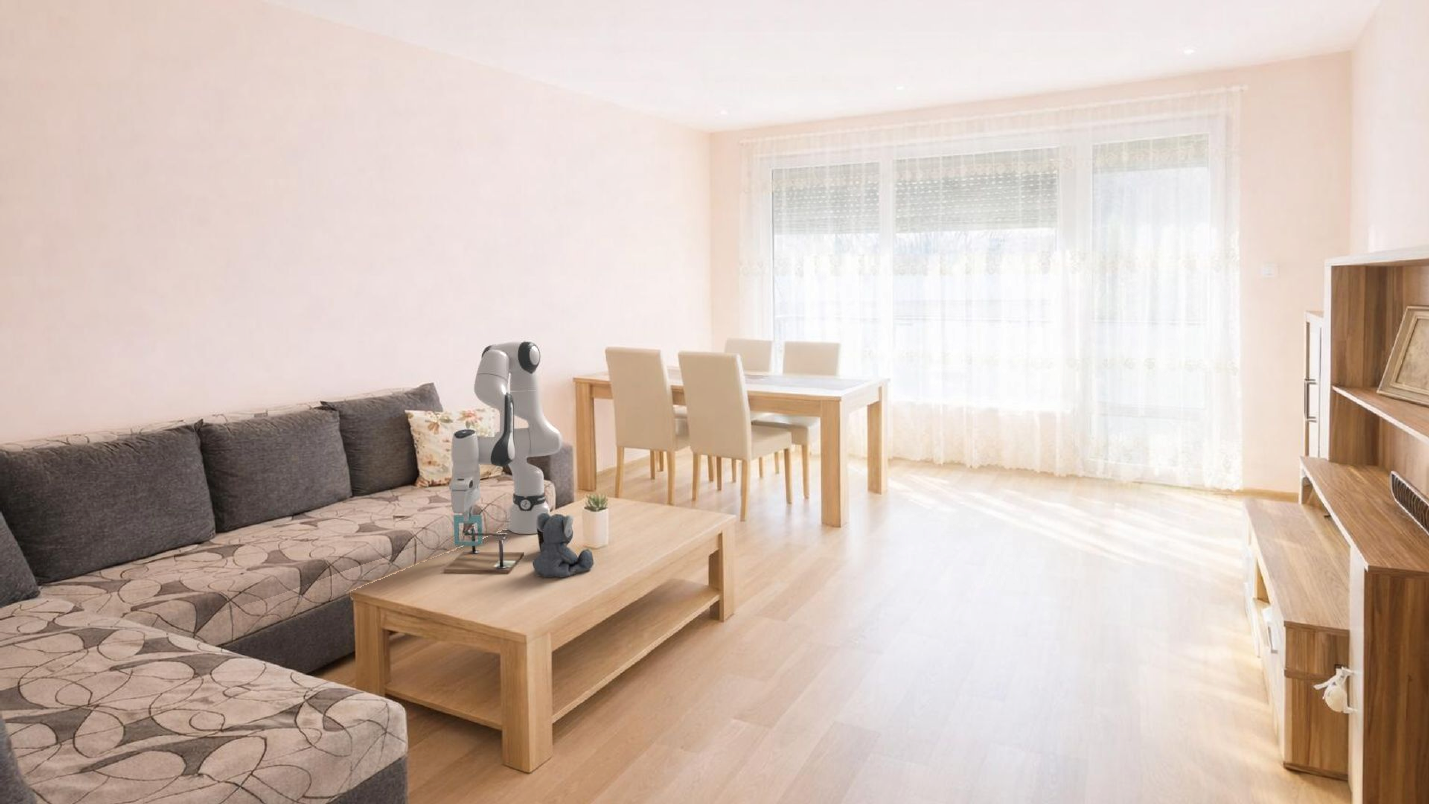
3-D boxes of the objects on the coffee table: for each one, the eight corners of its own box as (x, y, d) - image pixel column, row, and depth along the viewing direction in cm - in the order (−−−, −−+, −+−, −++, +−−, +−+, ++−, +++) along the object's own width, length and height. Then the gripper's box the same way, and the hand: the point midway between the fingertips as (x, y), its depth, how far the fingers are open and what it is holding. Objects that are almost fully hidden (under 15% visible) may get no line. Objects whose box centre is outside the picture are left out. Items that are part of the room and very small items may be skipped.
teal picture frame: (455, 544, 288) (454, 514, 287) (482, 544, 288) (481, 515, 287) (454, 545, 287) (453, 515, 286) (481, 545, 287) (480, 516, 286)
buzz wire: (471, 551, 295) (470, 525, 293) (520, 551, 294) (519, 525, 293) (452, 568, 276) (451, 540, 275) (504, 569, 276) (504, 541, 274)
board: (463, 554, 294) (463, 550, 294) (524, 555, 294) (524, 551, 293) (444, 572, 276) (444, 568, 276) (509, 573, 275) (509, 569, 275)
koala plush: (597, 568, 280) (596, 510, 278) (558, 584, 266) (557, 523, 263) (559, 559, 290) (557, 503, 287) (519, 574, 275) (517, 514, 273)
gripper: (466, 472, 295) (467, 511, 297) (447, 486, 275) (448, 527, 276) (484, 472, 295) (485, 511, 297) (466, 486, 275) (468, 528, 276)
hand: (467, 519), depth 286 cm, fingers closed on teal picture frame, 1 cm apart
